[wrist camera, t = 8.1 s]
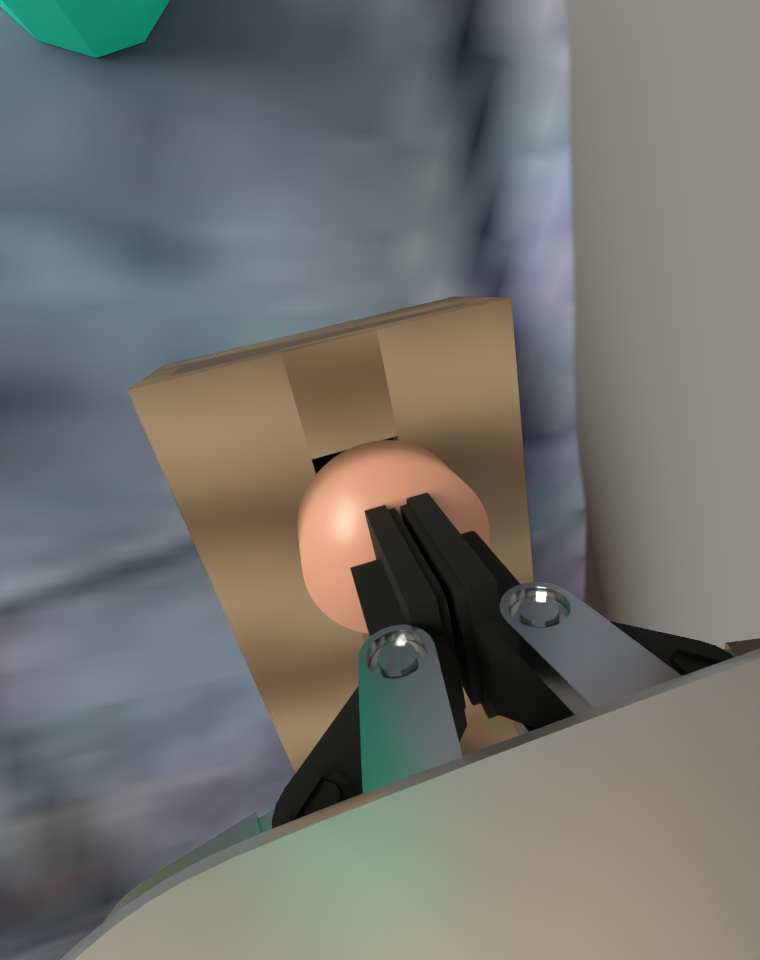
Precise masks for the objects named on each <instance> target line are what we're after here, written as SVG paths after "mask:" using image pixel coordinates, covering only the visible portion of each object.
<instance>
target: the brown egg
mask: <svg viewBox="0 0 760 960" xmlns="http://www.w3.org/2000/svg"><path fill="white" fill-rule="evenodd" d="M424 493H428V494H429V495H430V496H431V497H432V498H433V500H434V501H435V502H436V504H437V505H438V506H439V507H440V509H441V510H442V511H443V512H444V514H445V515H446V516H447V517H448V519H449V520H450V521H451V522H452V524H453V525H454V526H455V527H456V529H457V530H458V531H459V533H460V534H462V533H466V532H469V531H475V532H476V533H477V534H478V535H479V536H480V538H481V539H482V540H483V541H484V542H485V543H486V544H487V546H488V547H489V545H490V528H489V522H488V517H487V515H486V512H485V509H484V507H483V505H482V503H481V501H480V499H479V498H478V497H477V495H476V494H475V493H474V491H473V490H472V489H471V488H470V487H469V486H468V485H467V484H466V483H465V482H464V481H463V480H461V479H460V478H459V477H458V476H457V475H456V474H455V473H454V472H453V471H452V470H451V469H450V468H449V467H448V466H447V465H446V464H445V463H444V462H443V461H441V460H440V459H439V458H438V457H437V456H436V455H434V454H433V453H431V452H430V451H428V450H426V449H424V448H422V447H420V446H418V445H415V444H412V443H409V442H403V441H396V440H381V441H373V442H368V443H364V444H361V445H358V446H355V447H352V448H350V449H348V450H344V451H340V452H337V453H333V455H332V457H331V460H330V461H329V462H328V463H327V464H326V465H324V466H323V467H322V468H321V469H320V471H319V472H318V473H317V474H316V475H315V476H314V478H313V479H312V480H311V482H310V483H309V485H308V487H307V489H306V491H305V492H304V494H303V497H302V500H301V503H300V506H299V511H298V516H297V532H298V541H299V549H300V557H301V565H302V573H303V577H304V581H305V585H306V587H307V590H308V592H309V594H310V596H311V598H312V599H313V601H314V602H315V604H316V605H317V606H318V607H319V609H320V610H321V611H322V612H323V613H324V614H325V615H327V616H328V617H329V618H330V619H332V620H333V621H335V622H336V623H338V624H340V625H342V626H344V627H346V628H348V629H351V630H354V631H358V632H362V633H368V629H367V626H366V623H365V619H364V616H363V612H362V609H361V605H360V601H359V598H358V594H357V591H356V587H355V584H354V580H353V576H352V573H351V569H350V568H351V567H354V566H357V565H361V564H364V563H367V562H370V561H374V560H376V557H375V553H374V549H373V545H372V541H371V537H370V533H369V528H368V524H367V520H366V516H365V510H368V509H372V508H375V507H379V506H382V505H386V507H387V509H392V508H395V509H396V511H397V512H398V514H399V516H400V517H401V519H402V514H401V509H400V506H402V505H405V504H407V502H406V500H407V498H410V497H413V496H417V495H420V494H424ZM402 521H403V519H402ZM368 634H369V633H368Z"/></svg>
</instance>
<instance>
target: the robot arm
mask: <svg viewBox="0 0 760 960" xmlns="http://www.w3.org/2000/svg"><path fill="white" fill-rule="evenodd" d="M406 502H407V504H405V505H402V506H400V509H401V514H402V519H403V521H402V519H401V517H400V516H399V514H398V512H397V511H396V509H395V508H392V509H387V507H386V505H382V506H379V507H375V508H372V509H368V510H365V516H366V520H367V524H368V528H369V533H370V537H371V541H372V545H373V549H374V553H375V557H376V560H374V561H370V562H367V563H364V564H361V565H357V566H354V567H351V568H350V569H351V573H352V576H353V580H354V584H355V587H356V591H357V594H358V598H359V601H360V605H361V609H362V612H363V616H364V619H365V623H366V626H367V629H368V633H369V636H370V637H369V638H368V639H367V640H366V641H365V642H364V644H363V646H362V648H361V649H360V651H359V656H358V684H359V686H358V687H357V688H356V690H355V691H354V693H353V694H352V695H351V697H350V698H349V700H348V701H347V702H346V704H345V705H344V707H343V708H342V709H341V711H340V712H339V714H338V715H337V716H336V718H335V719H334V720H333V722H332V723H331V725H330V726H329V727H328V729H327V730H326V732H325V733H324V734H323V736H322V737H321V739H320V740H319V741H318V743H317V744H316V746H315V747H314V748H313V750H312V751H311V753H310V754H309V755H308V757H307V758H306V760H305V761H304V762H303V764H302V765H301V767H300V768H299V769H298V771H297V772H296V774H295V775H294V776H293V778H292V779H291V781H290V782H289V783H288V785H287V786H286V788H285V789H284V791H283V792H282V794H281V796H280V798H279V800H278V802H277V803H276V807H275V809H274V810H272V811H271V812H269V813H267V814H266V815H264V816H263V817H261V818H258V816H257V815H256V813H254V814H252V815H251V816H249V817H247V818H246V819H244V820H243V821H241V822H239V823H238V824H236V825H234V826H233V827H231V828H230V829H228V830H226V831H225V832H223V833H221V834H220V835H218V836H217V837H215V838H213V839H212V840H210V841H208V842H207V843H205V844H203V845H202V846H200V847H199V848H197V849H195V850H194V851H192V852H190V853H189V854H187V855H186V856H184V857H182V858H181V859H179V860H177V861H176V862H174V863H173V864H171V865H169V866H168V867H166V868H164V869H163V870H161V871H160V872H158V873H156V874H155V875H153V876H151V877H150V878H148V879H147V880H145V881H143V882H142V883H140V884H138V885H137V886H136V887H135V888H134V889H132V890H131V891H130V892H129V893H127V894H126V895H125V896H124V897H122V898H121V900H120V901H119V902H118V903H117V905H116V906H115V907H114V908H113V910H112V911H111V912H110V913H109V915H108V916H107V917H106V919H105V921H104V922H103V923H102V924H101V925H100V926H98V927H97V928H96V929H95V930H93V931H92V932H91V933H89V934H88V935H87V936H86V937H84V938H83V939H82V940H81V941H79V942H78V943H77V944H76V945H75V946H74V947H73V948H72V949H71V950H70V951H69V952H68V953H66V954H65V955H64V956H63V957H62V958H61V959H60V960H760V638H758V639H751V640H743V641H735V642H728V643H725V650H723V649H721V648H719V647H717V646H715V645H712V644H709V643H705V642H702V641H699V640H694V639H689V638H685V637H680V636H676V635H671V634H667V633H662V632H657V631H653V630H648V629H643V628H639V627H634V626H630V625H625V624H621V623H616V622H611V621H608V620H607V619H605V618H604V617H603V616H601V615H600V614H599V613H597V612H596V611H595V610H593V609H592V608H590V607H589V606H588V605H587V604H585V603H584V602H583V601H581V600H580V599H579V598H577V597H576V596H575V595H573V594H572V593H571V592H569V591H568V590H566V589H564V588H562V587H560V586H558V585H554V584H551V583H546V582H528V583H523V584H520V583H519V582H518V580H517V579H516V578H515V577H514V576H513V575H512V574H511V572H510V571H509V570H508V569H507V568H506V567H505V565H504V564H503V563H502V562H501V561H500V560H499V558H498V557H497V556H496V555H495V554H494V553H493V551H492V550H491V549H490V548H489V547H488V546H487V544H486V543H485V542H484V541H483V540H482V539H481V538H480V536H479V535H478V534H477V533H476V532H475V531H469V532H466V533H462V534H460V533H459V531H458V530H457V529H456V527H455V526H454V525H453V524H452V522H451V521H450V520H449V519H448V517H447V516H446V515H445V514H444V512H443V511H442V510H441V509H440V507H439V506H438V505H437V504H436V502H435V501H434V500H433V498H432V497H431V496H430V495H429V494H428V493H424V494H420V495H417V496H413V497H410V498H407V500H406ZM463 688H464V690H465V692H466V694H467V696H468V698H469V700H470V702H471V704H472V705H473V706H475V705H478V704H481V705H482V707H483V709H484V711H485V713H486V715H487V717H488V719H490V718H493V717H496V716H498V715H500V716H503V717H505V718H508V719H511V720H513V721H514V727H515V729H516V731H517V733H518V734H519V736H516V737H514V738H511V739H508V740H505V741H503V742H500V743H497V744H495V745H492V746H489V747H486V748H484V749H481V750H478V751H476V752H473V753H470V754H468V755H465V756H462V752H461V748H460V744H459V743H460V740H461V738H462V736H463V734H464V732H465V729H466V727H467V720H466V715H465V709H466V703H465V697H464V692H463Z"/></svg>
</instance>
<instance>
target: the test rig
mask: <svg viewBox="0 0 760 960" xmlns="http://www.w3.org/2000/svg"><path fill="white" fill-rule="evenodd" d="M127 391H128V393H129V396H130V398H131V400H132V403H133V405H134V407H135V409H136V412H137V414H138V416H139V419H140V421H141V423H142V425H143V428H144V430H145V432H146V435H147V437H148V439H149V441H150V444H151V446H152V448H153V450H154V453H155V455H156V457H157V460H158V462H159V464H160V466H161V469H162V471H163V473H164V476H165V478H166V480H167V482H168V485H169V487H170V489H171V491H172V494H173V496H174V498H175V501H176V503H177V505H178V507H179V510H180V512H181V514H182V517H183V519H184V521H185V523H186V526H187V528H188V530H189V533H190V535H191V537H192V539H193V542H194V544H195V546H196V548H197V551H198V553H199V555H200V558H201V560H202V562H203V564H204V567H205V569H206V571H207V574H208V576H209V578H210V580H211V583H212V585H213V587H214V589H215V592H216V594H217V596H218V599H219V601H220V603H221V605H222V608H223V610H224V612H225V615H226V617H227V619H228V621H229V624H230V626H231V628H232V631H233V633H234V635H235V637H236V640H237V642H238V644H239V646H240V649H241V651H242V653H243V656H244V658H245V660H246V662H247V665H248V667H249V669H250V672H251V674H252V676H253V678H254V681H255V683H256V685H257V687H258V690H259V692H260V694H261V697H262V699H263V701H264V703H265V706H266V708H267V710H268V713H269V715H270V717H271V719H272V722H273V724H274V726H275V729H276V731H277V733H278V735H279V738H280V740H281V742H282V744H283V747H284V749H285V751H286V754H287V756H288V758H289V760H290V763H291V765H292V767H293V770H294V772H295V774H296V772H297V771H298V769H299V768H300V767H301V765H302V764H303V762H304V761H305V760H306V758H307V757H308V755H309V754H310V753H311V751H312V750H313V748H314V747H315V746H316V744H317V743H318V741H319V740H320V739H321V737H322V736H323V734H324V733H325V732H326V730H327V729H328V727H329V726H330V725H331V723H332V722H333V720H334V719H335V718H336V716H337V715H338V714H339V712H340V711H341V709H342V708H343V707H344V705H345V704H346V702H347V701H348V700H349V698H350V697H351V695H352V694H353V693H354V691H355V690H356V688H357V687H358V686H359V684H358V656H359V651H360V649H361V648H362V646H363V644H364V642H365V641H366V640H367V639H368V638H369V637H370V636H369V634H368V633H362V632H358V631H354V630H351V629H348V628H346V627H344V626H342V625H340V624H338V623H336V622H335V621H333V620H332V619H330V618H329V617H328V616H327V615H325V614H324V613H323V612H322V611H321V610H320V609H319V607H318V606H317V605H316V604H315V602H314V601H313V599H312V598H311V596H310V594H309V592H308V590H307V587H306V585H305V581H304V577H303V573H302V565H301V557H300V549H299V541H298V532H297V516H298V511H299V506H300V503H301V500H302V497H303V494H304V492H305V491H306V489H307V487H308V485H309V483H310V482H311V480H312V479H313V478H314V476H315V475H316V474H317V473H318V472H319V471H320V469H321V468H322V467H323V466H324V465H326V464H327V463H328V462H329V461H330V460H331V457H332V455H333V453H337V452H340V451H344V450H348V449H350V448H352V447H355V446H358V445H361V444H364V443H368V442H373V441H381V440H396V441H403V442H409V443H412V444H415V445H418V446H420V447H422V448H424V449H426V450H428V451H430V452H431V453H433V454H434V455H436V456H437V457H438V458H439V459H440V460H441V461H443V462H444V463H445V464H446V465H447V466H448V467H449V468H450V469H451V470H452V471H453V472H454V473H455V474H456V475H457V476H458V477H459V478H460V479H461V480H463V481H464V482H465V483H466V484H467V485H468V486H469V487H470V488H471V489H472V490H473V491H474V493H475V494H476V495H477V497H478V498H479V499H480V501H481V503H482V505H483V507H484V509H485V512H486V515H487V517H488V522H489V528H490V545H489V548H490V549H491V550H492V551H493V553H494V554H495V555H496V556H497V557H498V558H499V560H500V561H501V562H502V563H503V564H504V565H505V567H506V568H507V569H508V570H509V571H510V572H511V574H512V575H513V576H514V577H515V578H516V579H517V580H518V582H519V583H520V584H523V583H528V582H534V578H533V565H532V553H531V540H530V528H529V515H528V502H527V490H526V477H525V465H524V452H523V439H522V427H521V414H520V402H519V389H518V377H517V364H516V351H515V339H514V326H513V314H512V301H511V297H451V298H447V299H443V300H438V301H434V302H430V303H426V304H422V305H417V306H413V307H409V308H405V309H400V310H396V311H392V312H388V313H384V314H379V315H375V316H371V317H367V318H363V319H358V320H354V321H350V322H346V323H342V324H337V325H333V326H329V327H325V328H321V329H316V330H312V331H308V332H304V333H300V334H295V335H291V336H287V337H283V338H279V339H274V340H270V341H266V342H262V343H258V344H253V345H249V346H245V347H241V348H237V349H232V350H228V351H224V352H220V353H216V354H211V355H207V356H203V357H199V358H195V359H190V360H186V361H182V362H178V363H174V364H169V365H165V366H162V367H161V368H159V369H158V370H156V371H155V372H153V373H152V374H150V375H149V376H148V377H146V378H145V379H143V380H142V381H140V382H139V383H137V384H136V385H134V386H133V387H131V388H130V389H128V390H127ZM463 692H464V697H465V703H466V709H465V715H466V720H467V727H466V729H465V732H464V734H463V736H462V738H461V740H460V743H459V744H460V748H461V752H462V756H465V755H468V754H470V753H473V752H476V751H478V750H481V749H484V748H486V747H489V746H492V745H495V744H497V743H500V742H503V741H505V740H508V739H511V738H514V737H516V736H519V734H518V733H517V731H516V729H515V727H514V721H513V720H511V719H508V718H505V717H503V716H500V715H498V716H496V717H493V718H490V719H488V717H487V715H486V713H485V711H484V709H483V707H482V705H481V704H478V705H475V706H473V705H472V704H471V702H470V700H469V698H468V696H467V694H466V692H465V690H464V688H463Z"/></svg>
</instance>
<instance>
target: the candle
mask: <svg viewBox="0 0 760 960" xmlns="http://www.w3.org/2000/svg"><path fill="white" fill-rule="evenodd" d="M169 1H170V0H0V7H1V8H2V9H3V10H4V11H5V12H7V13H8V14H9V15H10V16H11V17H12V18H13V19H14V20H16V21H17V22H18V23H19V24H20V25H21V26H22V27H23V28H25V29H26V30H27V31H28V32H29V33H30V34H31V35H32V36H34V37H35V38H36V39H37V40H38V41H41V42H45V43H48V44H51V45H55V46H58V47H61V48H65V49H68V50H71V51H75V52H78V53H81V54H85V55H88V56H92V57H95V58H98V57H101V56H104V55H107V54H110V53H113V52H116V51H119V50H122V49H125V48H128V47H131V46H134V45H137V44H140V43H143V42H145V40H146V39H147V37H148V36H149V34H150V32H151V31H152V29H153V27H154V26H155V24H156V23H157V21H158V19H159V18H160V16H161V14H162V13H163V11H164V10H165V8H166V6H167V5H168V3H169Z"/></svg>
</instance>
